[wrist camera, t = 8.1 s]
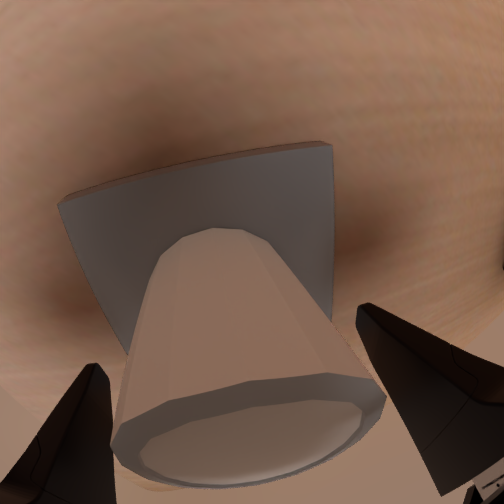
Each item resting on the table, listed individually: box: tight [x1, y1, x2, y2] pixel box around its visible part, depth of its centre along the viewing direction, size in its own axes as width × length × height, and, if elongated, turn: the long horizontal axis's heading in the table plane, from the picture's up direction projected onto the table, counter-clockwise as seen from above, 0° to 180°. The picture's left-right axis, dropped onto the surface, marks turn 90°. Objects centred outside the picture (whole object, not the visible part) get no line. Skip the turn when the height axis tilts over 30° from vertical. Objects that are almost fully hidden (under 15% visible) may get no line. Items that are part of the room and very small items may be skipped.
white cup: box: [110, 228, 387, 489], centre depth 9 cm, size 7×7×7 cm
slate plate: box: [57, 141, 335, 355], centre depth 12 cm, size 10×10×1 cm
